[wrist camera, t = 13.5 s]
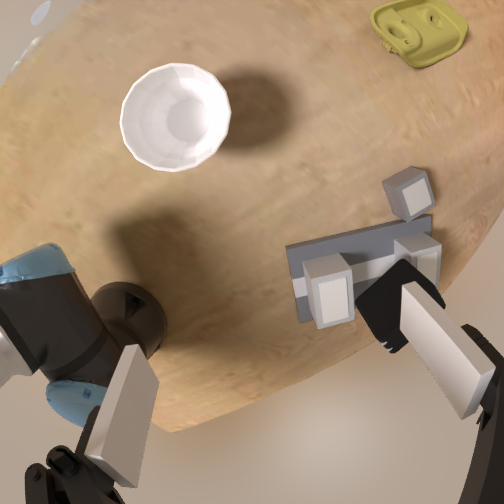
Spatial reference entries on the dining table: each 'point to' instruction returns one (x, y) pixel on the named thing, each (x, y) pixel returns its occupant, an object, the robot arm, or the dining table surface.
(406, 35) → the plastic component
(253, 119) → the dining table surface
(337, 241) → the board
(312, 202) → the dining table surface
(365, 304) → the electronic device
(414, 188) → the module
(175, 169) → the cup
